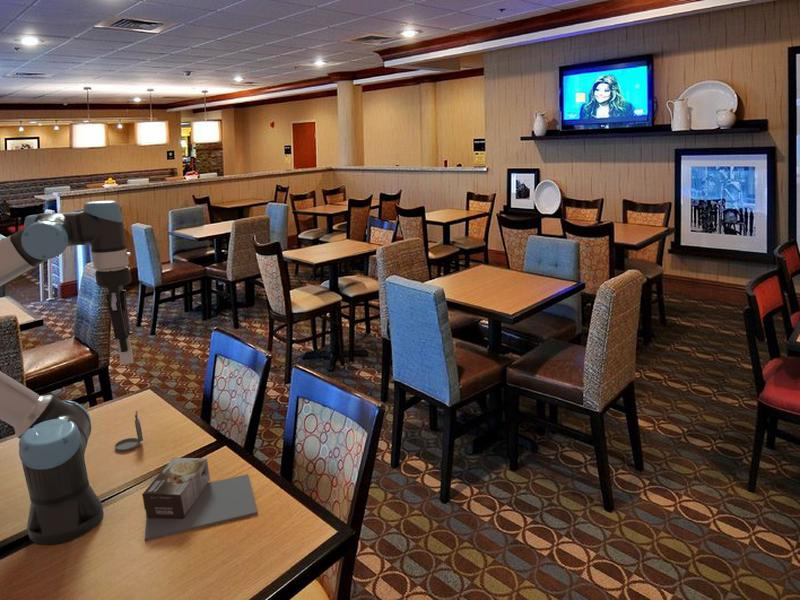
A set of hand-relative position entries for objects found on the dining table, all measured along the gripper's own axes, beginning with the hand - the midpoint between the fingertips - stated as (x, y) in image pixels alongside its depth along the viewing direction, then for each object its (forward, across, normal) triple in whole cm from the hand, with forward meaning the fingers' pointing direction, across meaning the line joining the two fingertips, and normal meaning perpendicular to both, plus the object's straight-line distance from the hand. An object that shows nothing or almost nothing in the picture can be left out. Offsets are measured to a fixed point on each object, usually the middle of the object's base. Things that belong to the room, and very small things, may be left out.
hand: (127, 362), depth 146 cm
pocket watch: (+32, +20, +5) cm, 38 cm away
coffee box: (+28, -6, -12) cm, 31 cm away
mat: (+32, -18, -14) cm, 39 cm away
